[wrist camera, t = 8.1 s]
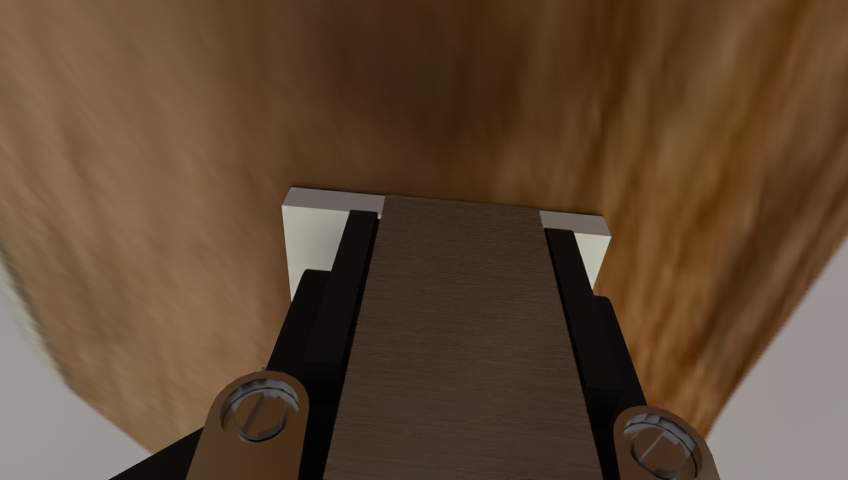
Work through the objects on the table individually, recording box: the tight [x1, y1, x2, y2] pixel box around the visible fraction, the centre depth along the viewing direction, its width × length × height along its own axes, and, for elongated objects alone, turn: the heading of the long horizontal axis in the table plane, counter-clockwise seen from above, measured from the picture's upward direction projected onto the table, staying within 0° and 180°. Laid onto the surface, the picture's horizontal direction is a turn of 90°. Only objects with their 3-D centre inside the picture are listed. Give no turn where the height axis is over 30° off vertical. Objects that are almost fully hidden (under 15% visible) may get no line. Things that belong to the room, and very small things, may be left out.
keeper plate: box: [282, 187, 611, 301], centre depth 18 cm, size 11×11×10 cm
